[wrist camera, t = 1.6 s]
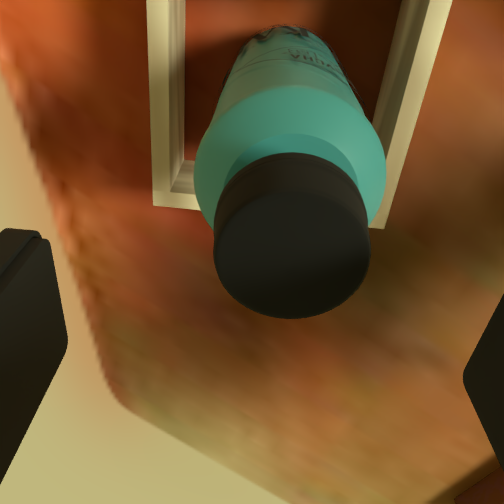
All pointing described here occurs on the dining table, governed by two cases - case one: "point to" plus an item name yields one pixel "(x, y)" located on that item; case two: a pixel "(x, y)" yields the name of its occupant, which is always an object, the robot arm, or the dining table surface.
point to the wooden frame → (384, 121)
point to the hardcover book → (485, 490)
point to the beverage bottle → (289, 178)
